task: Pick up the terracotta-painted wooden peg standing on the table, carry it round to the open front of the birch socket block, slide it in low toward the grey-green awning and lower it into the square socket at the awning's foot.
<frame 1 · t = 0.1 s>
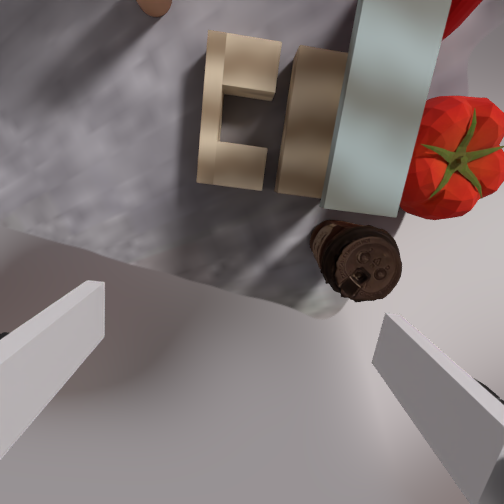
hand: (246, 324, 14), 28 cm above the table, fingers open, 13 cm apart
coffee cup: (329, 241, 42), on the table
socket awning: (275, 127, 37), on the table
tomato: (410, 163, 39), on the table
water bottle: (410, 1, 34), on the table
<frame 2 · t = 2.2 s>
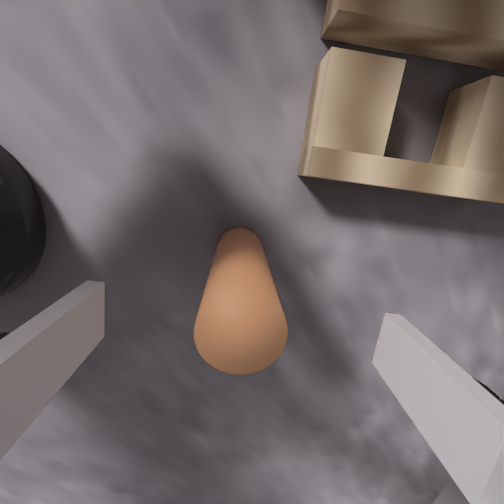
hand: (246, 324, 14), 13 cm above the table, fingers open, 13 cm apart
socket awning: (417, 71, 23), on the table
peg: (239, 249, 26), on the table
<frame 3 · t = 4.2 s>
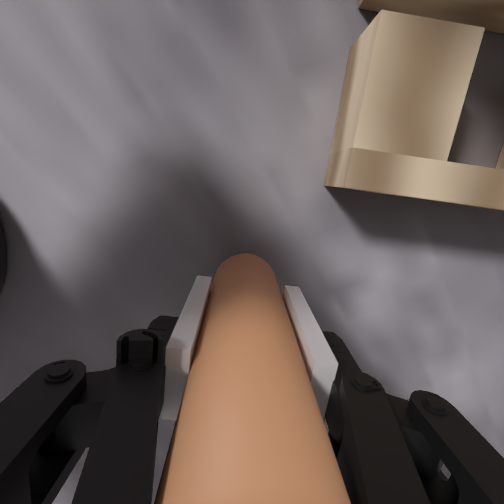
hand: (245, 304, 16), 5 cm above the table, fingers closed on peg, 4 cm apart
socket awning: (484, 50, 17), on the table
peg: (244, 283, 19), point 2 cm above the table, touching gripper
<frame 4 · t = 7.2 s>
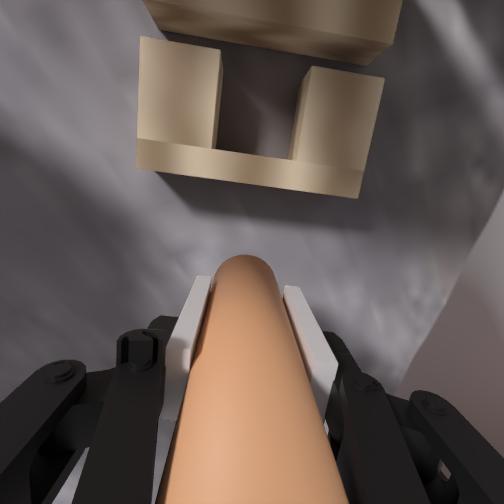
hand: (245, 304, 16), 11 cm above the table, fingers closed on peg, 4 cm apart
socket awning: (263, 63, 22), on the table
peg: (244, 284, 19), point 8 cm above the table, touching gripper
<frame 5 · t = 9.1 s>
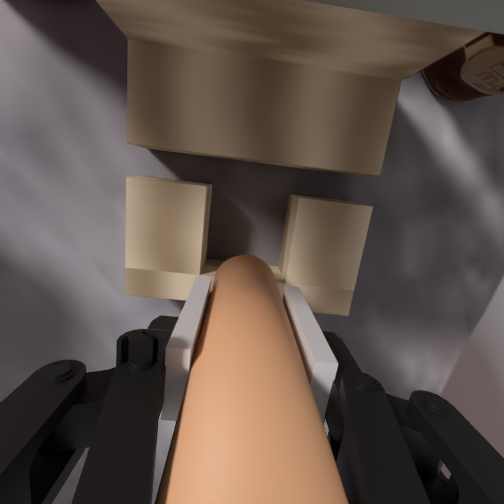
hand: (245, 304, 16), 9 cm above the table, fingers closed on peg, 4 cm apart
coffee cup: (461, 57, 21), on the table
socket awning: (252, 175, 22), on the table
peg: (244, 284, 19), point 6 cm above the table, touching gripper
when the fingers open (6 cm above the table, at t = 10.6 s): peg drops 3 cm, resting in socket awning.
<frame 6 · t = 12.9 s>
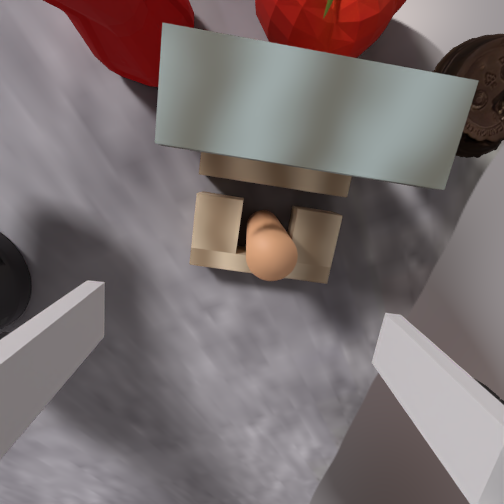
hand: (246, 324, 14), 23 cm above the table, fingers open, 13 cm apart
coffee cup: (403, 124, 33), on the table
socket awning: (269, 193, 35), on the table
tomato: (318, 14, 30), on the table
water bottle: (143, 37, 31), on the table
peg: (262, 226, 36), resting in socket awning
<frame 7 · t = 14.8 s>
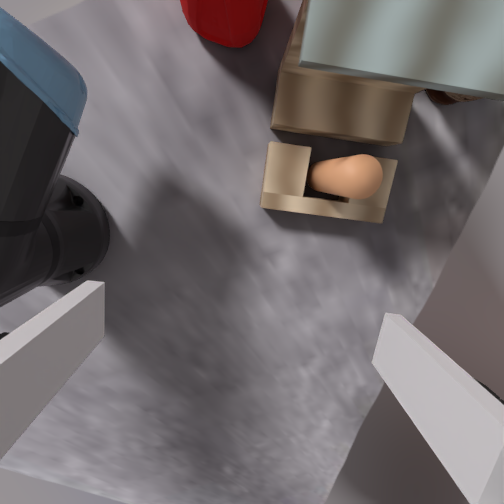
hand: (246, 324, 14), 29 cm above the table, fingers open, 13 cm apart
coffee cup: (447, 80, 38), on the table
socket awning: (327, 145, 39), on the table
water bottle: (220, 3, 34), on the table
peg: (320, 176, 40), resting in socket awning
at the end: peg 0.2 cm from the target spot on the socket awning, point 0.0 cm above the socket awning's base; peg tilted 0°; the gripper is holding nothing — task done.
